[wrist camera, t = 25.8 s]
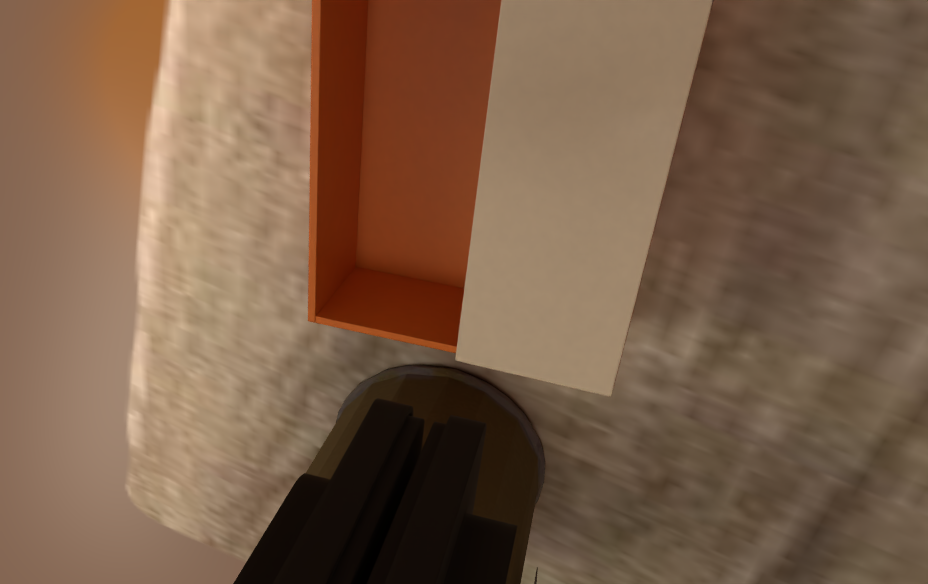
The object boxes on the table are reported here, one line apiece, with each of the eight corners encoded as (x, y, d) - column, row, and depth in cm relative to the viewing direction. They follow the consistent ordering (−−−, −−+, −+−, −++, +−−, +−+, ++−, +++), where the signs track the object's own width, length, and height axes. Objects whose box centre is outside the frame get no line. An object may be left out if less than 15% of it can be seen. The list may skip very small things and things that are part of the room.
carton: (367, -96, 25) (312, -98, 21) (710, -50, 24) (724, -42, 20) (351, 268, 32) (307, 321, 28) (617, 322, 30) (613, 387, 26)
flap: (511, -69, 20) (509, -68, 20) (722, -40, 19) (723, -39, 19) (456, 356, 27) (454, 360, 27) (611, 392, 26) (610, 397, 26)
